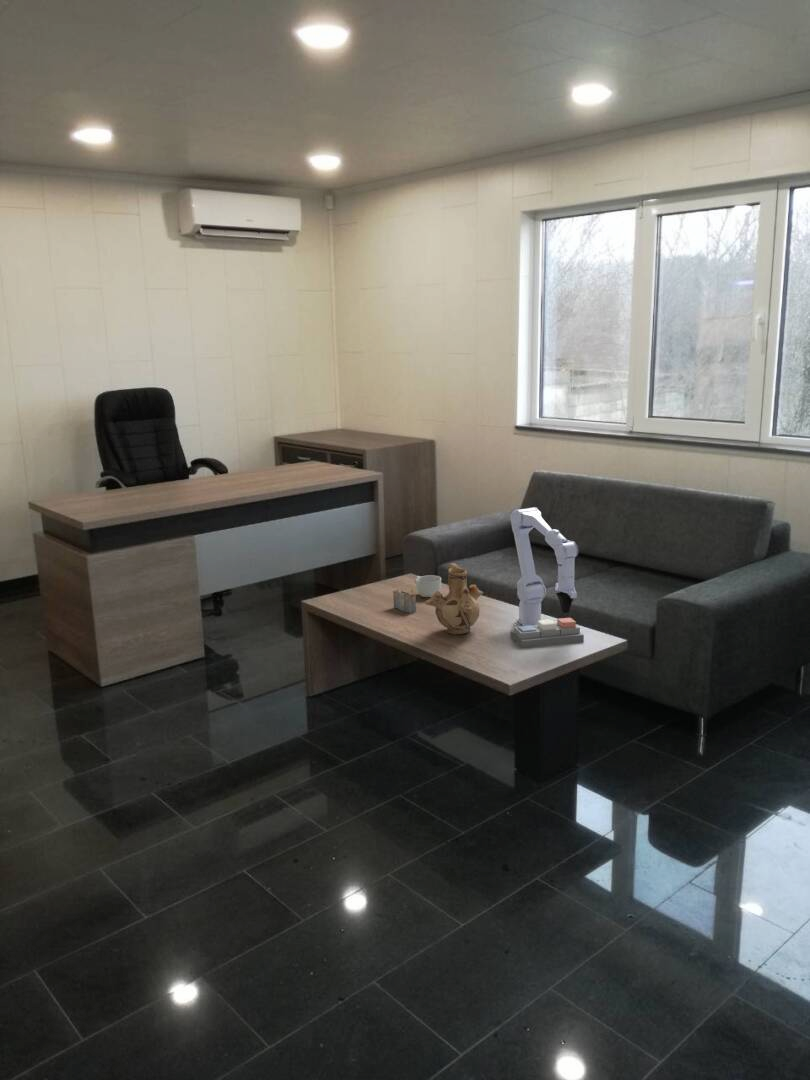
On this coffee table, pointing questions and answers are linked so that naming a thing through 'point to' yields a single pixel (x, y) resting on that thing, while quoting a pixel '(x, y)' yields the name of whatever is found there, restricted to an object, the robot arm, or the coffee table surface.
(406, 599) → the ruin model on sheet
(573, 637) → the key panel
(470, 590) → the ceramic vessel
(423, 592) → the teacup
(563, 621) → the salmon pink key
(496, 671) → the coffee table surface
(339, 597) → the coffee table surface
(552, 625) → the white key
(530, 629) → the blue key
